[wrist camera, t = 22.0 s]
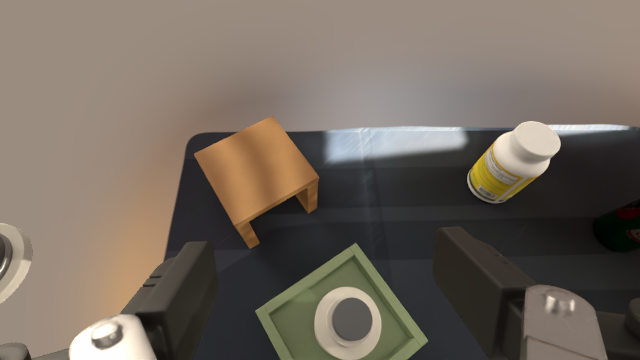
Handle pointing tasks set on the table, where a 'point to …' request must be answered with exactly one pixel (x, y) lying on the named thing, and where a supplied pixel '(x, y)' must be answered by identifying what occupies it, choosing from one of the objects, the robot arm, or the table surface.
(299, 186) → the wooden stand
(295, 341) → the sage green tray
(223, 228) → the table surface
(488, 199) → the pill bottle
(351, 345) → the white bottle
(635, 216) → the soda can
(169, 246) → the table surface
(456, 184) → the table surface
